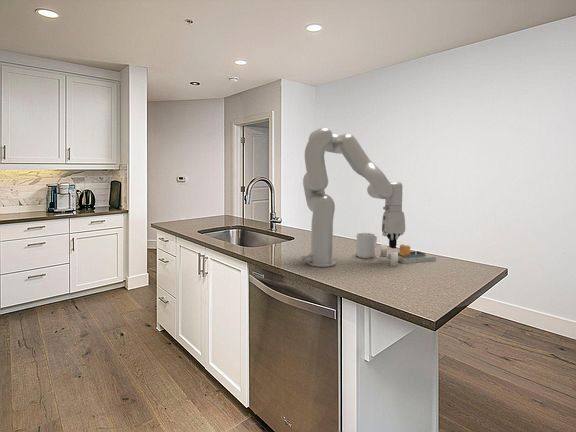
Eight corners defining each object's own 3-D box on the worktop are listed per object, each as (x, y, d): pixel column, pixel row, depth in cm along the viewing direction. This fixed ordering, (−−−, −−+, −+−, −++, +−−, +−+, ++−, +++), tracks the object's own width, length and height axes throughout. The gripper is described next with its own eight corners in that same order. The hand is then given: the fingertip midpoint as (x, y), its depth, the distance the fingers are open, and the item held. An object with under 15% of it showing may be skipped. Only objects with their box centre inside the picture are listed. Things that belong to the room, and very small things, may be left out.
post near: (393, 266, 162) (393, 253, 161) (389, 265, 164) (389, 252, 164) (398, 266, 162) (399, 253, 162) (395, 264, 165) (395, 251, 165)
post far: (382, 256, 180) (383, 244, 180) (379, 255, 183) (379, 243, 183) (387, 256, 181) (388, 244, 181) (384, 255, 184) (385, 243, 183)
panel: (402, 263, 167) (403, 256, 167) (388, 257, 179) (388, 251, 178) (435, 261, 173) (436, 254, 172) (419, 255, 184) (419, 249, 184)
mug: (365, 259, 175) (366, 236, 173) (352, 256, 182) (352, 234, 180) (382, 256, 182) (383, 234, 180) (368, 253, 189) (369, 231, 188)
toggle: (404, 256, 172) (404, 245, 171) (399, 254, 176) (399, 243, 175) (409, 255, 173) (410, 245, 172) (404, 253, 176) (405, 243, 176)
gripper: (383, 210, 163) (383, 250, 166) (412, 208, 168) (411, 248, 170) (374, 208, 171) (374, 247, 173) (402, 207, 175) (401, 245, 177)
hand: (392, 247), depth 171 cm, fingers closed
